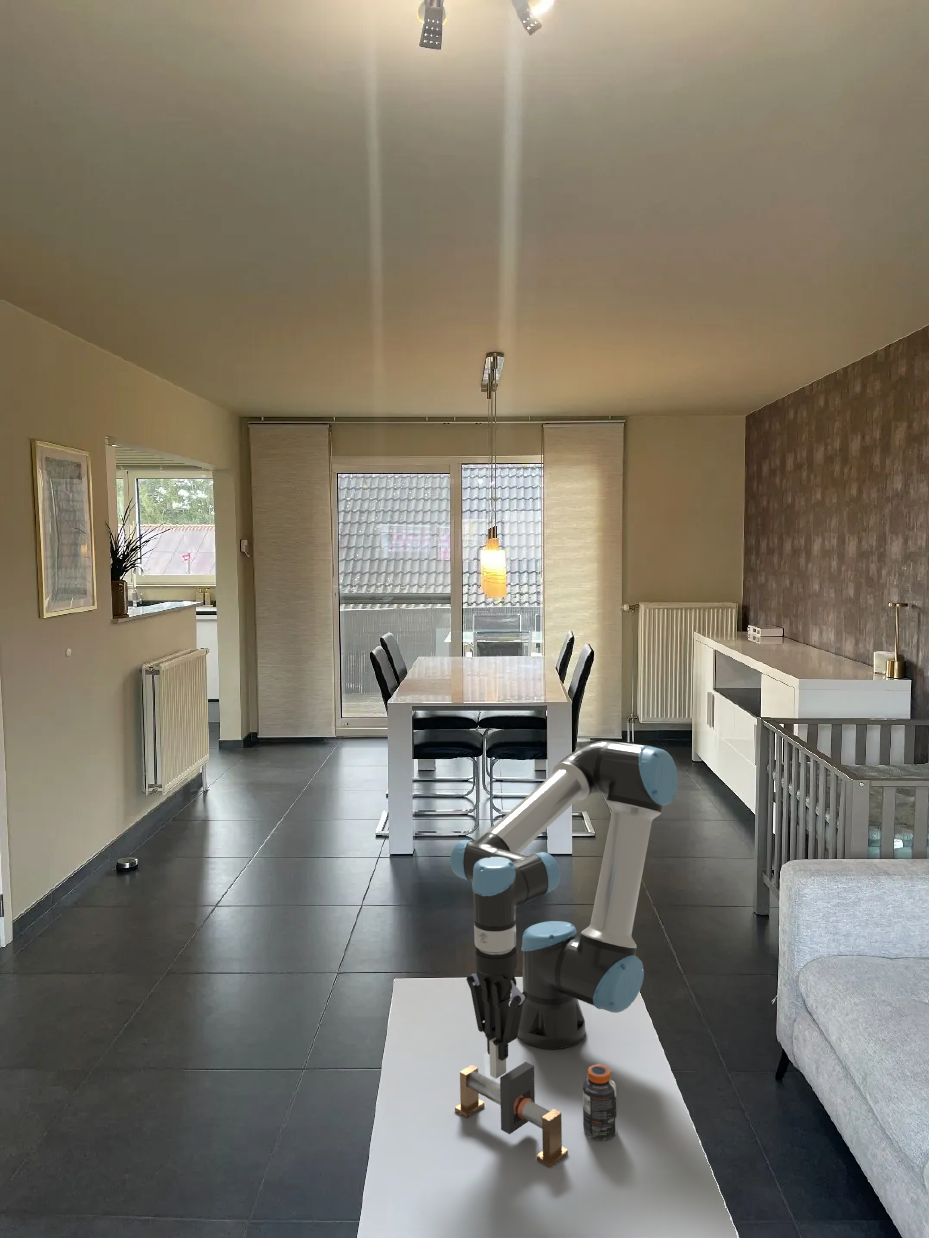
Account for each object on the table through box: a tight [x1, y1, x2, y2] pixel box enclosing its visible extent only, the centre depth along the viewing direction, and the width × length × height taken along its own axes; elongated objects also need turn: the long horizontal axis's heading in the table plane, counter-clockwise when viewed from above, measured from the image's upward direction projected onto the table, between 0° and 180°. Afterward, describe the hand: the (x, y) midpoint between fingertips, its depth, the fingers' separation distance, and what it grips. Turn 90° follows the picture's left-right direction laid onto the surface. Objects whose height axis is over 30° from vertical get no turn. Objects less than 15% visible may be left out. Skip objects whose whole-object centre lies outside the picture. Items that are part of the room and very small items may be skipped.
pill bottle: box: [582, 1063, 618, 1141], centre depth 157 cm, size 6×6×11 cm
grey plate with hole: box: [499, 1061, 536, 1135], centre depth 155 cm, size 2×7×9 cm, turn 135°
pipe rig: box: [454, 1064, 569, 1169], centre depth 157 cm, size 23×5×8 cm, turn 45°
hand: (498, 1073), depth 159 cm, fingers closed
